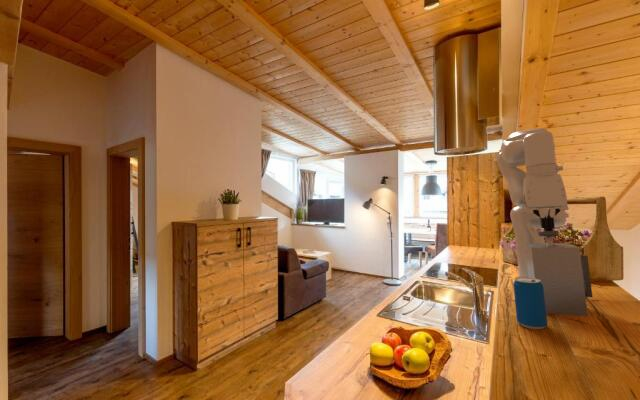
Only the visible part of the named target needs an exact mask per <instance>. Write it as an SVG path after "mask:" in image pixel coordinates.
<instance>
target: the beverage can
mask: <svg viewBox="0 0 640 400" xmlns="http://www.w3.org/2000/svg"><path fill="white" fill-rule="evenodd" d="M512 285H513V293H514V295H513V296H514V303H515V304H514V305H515V313H516V321H517V323H518V324H519V325H521V326H522V327H524V328H527V329H531V330H542V329H545V327H547V326H548V317H547V313H546V306H545V297H544V288H543V284H542V283H541V280H539V279H536V278H528V277H520V276H519V277H515V278H514V281H513V283H512Z"/></svg>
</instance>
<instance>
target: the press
mask: <svg viewBox="0 0 640 400" xmlns="http://www.w3.org/2000/svg"><path fill="white" fill-rule="evenodd" d="M552 244H553V246H547V243H546V242H545V243H525V252H526V261H527V270H528V278H536V279H539V280H541V283H542V284H543V288H544V297H545V306H546V314H554V315H555V314H556V315H569V316H581V317H588V315H589V314H588V307H587V299H586V298H593V291H592V290H593V289H592V282H591V281H592V280H591V274H590V266H589V259H588V255H587V254H581V250H580V246H576V245H574V244H571V243H568V242H554V243H553V242H552Z"/></svg>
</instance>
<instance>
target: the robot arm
mask: <svg viewBox="0 0 640 400" xmlns="http://www.w3.org/2000/svg"><path fill="white" fill-rule="evenodd" d="M555 148H556V146H555V141H554V136H553V132H550V131H548V129H546V128H545V127H544V128H543V127H538V128H532V129H531V128H530V129H526V130H520V131H514V132H513V133H510V135H509V136H507V138H506V139H504V140H503V141H502V143H501V145H500V152H499V153H498V154H497V158H496V159H497V160H496V161H497V166H498V169H499V171H500V173H501V175H502V176H503V177H504V179H505V181H506V182H507V187H508V193H509V195H510V196H509V197H510V200H511V203H512V204H513V205H514V207H513V208H512V209H511V210H510V213H509V215H510V216H509V217H510V220H511V224H512V228H513V232H514V233H513V234H514V239H515V247H516V255H517V256H516V257H517V258H516V259H517V266H518V267H517V268H518V273H519V274H518V276H519V277H528V270H527V261H526V252H525V243H546V239H545V238H544V237H543V236H538V231H537V230H536V229H543V230H544V231H553V230H554V229H555V228H561V227H563V226H564V225H565V224H566V222H567V218H566V217H567V215H566V211H568V210H569V206H568V199H567V198H568V196H567V191H566V187H565V185H564V181H563V178H562V175H561V173H560V174H559V172H560V171H563V170H564V167H563V166H562V165H558V164H557V158H556V149H555ZM524 166H525V171H524V170H523V169H521V168H519V167H524Z"/></svg>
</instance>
